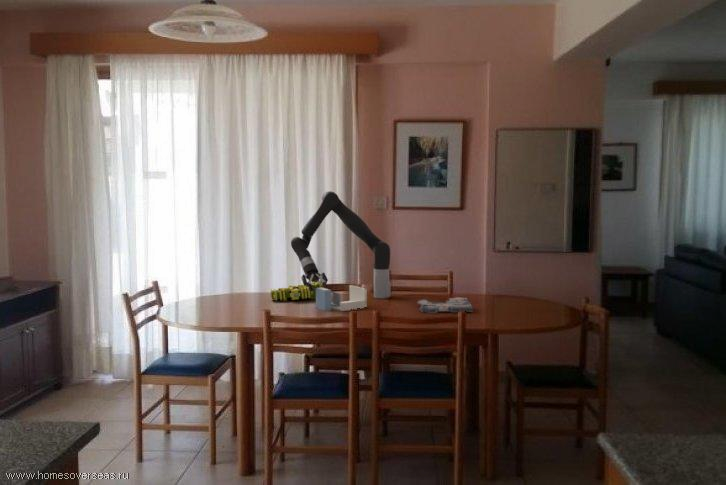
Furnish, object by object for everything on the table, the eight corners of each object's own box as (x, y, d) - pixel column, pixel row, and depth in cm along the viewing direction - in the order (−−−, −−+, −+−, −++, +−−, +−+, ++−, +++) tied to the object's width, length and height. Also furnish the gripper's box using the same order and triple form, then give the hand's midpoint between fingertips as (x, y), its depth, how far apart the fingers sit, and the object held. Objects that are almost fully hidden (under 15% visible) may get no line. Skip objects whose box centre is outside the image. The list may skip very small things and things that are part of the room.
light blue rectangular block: (322, 306, 341) (322, 287, 340) (331, 310, 333) (331, 289, 332) (315, 307, 339) (315, 287, 338) (324, 310, 331) (324, 290, 329)
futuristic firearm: (467, 303, 342) (472, 314, 323) (416, 305, 343) (419, 316, 324) (467, 294, 341) (472, 304, 322) (416, 295, 342) (418, 306, 323)
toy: (269, 284, 366) (319, 278, 373) (271, 301, 368) (320, 295, 374) (271, 289, 350) (323, 283, 356) (273, 307, 351) (325, 301, 358)
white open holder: (351, 302, 351) (351, 285, 350) (366, 307, 338) (366, 289, 337) (327, 306, 343) (326, 288, 342) (341, 311, 329) (341, 292, 328)
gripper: (299, 263, 341) (309, 287, 332) (322, 261, 348) (332, 284, 340) (295, 271, 346) (305, 295, 337) (318, 269, 353) (328, 292, 345)
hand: (319, 289), depth 339 cm, fingers open, 8 cm apart
